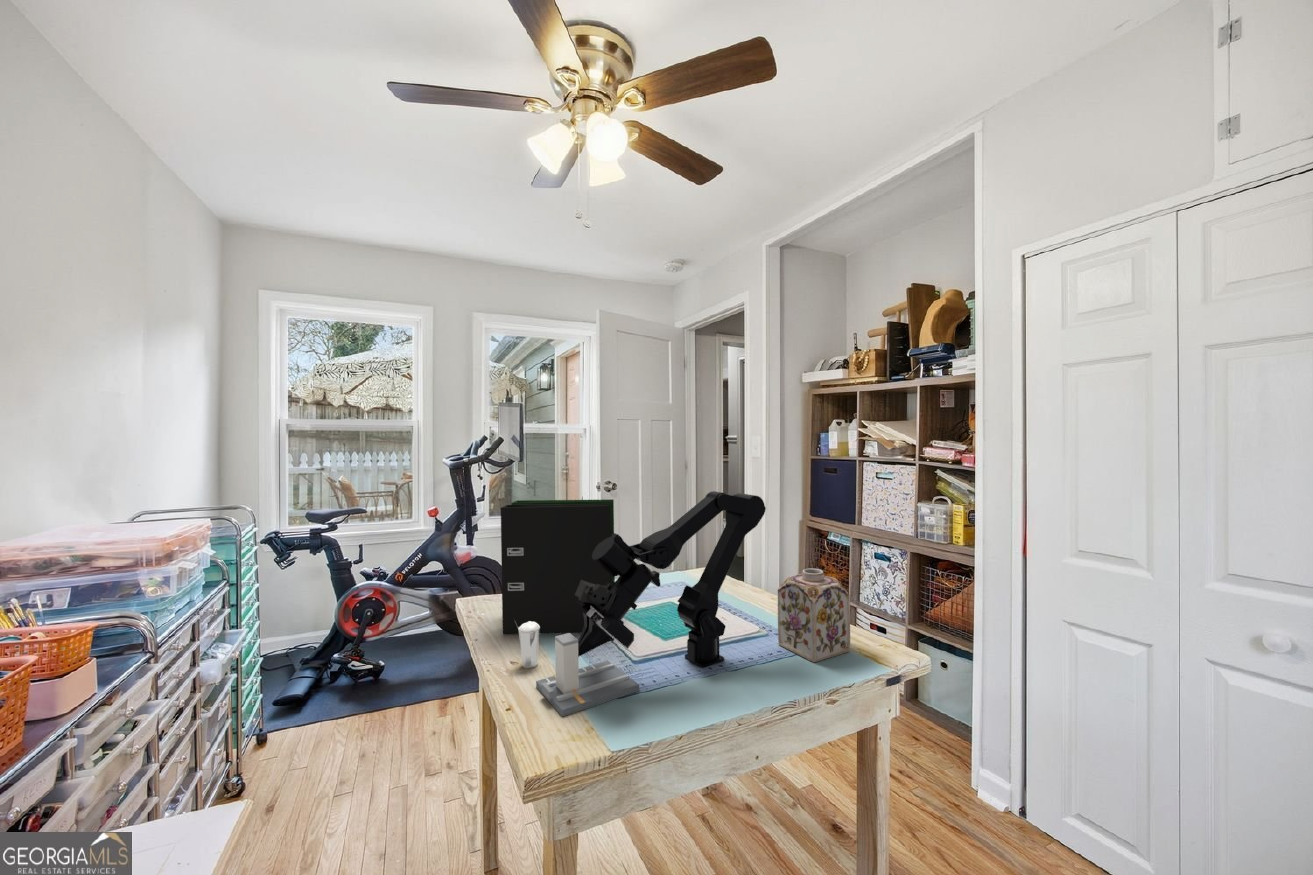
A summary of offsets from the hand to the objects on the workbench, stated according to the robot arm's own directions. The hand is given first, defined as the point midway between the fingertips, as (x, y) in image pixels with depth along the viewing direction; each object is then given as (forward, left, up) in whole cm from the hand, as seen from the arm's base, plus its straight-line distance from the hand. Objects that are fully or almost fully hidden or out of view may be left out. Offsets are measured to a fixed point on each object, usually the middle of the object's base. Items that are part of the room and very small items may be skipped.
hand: (575, 655), depth 99 cm
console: (-2, 0, -7) cm, 8 cm away
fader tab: (+2, 0, -6) cm, 6 cm away
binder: (-12, -35, -7) cm, 38 cm away
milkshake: (+4, -17, -7) cm, 19 cm away
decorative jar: (-53, +13, -7) cm, 55 cm away
